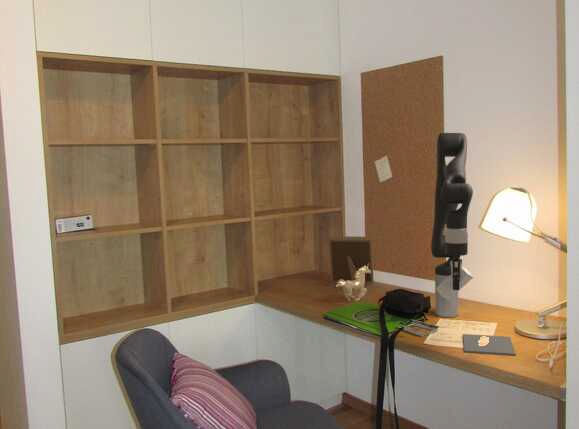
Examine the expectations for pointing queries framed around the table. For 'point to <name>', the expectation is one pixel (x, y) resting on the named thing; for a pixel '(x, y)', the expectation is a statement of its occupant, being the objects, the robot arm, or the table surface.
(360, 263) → the photo frame
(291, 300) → the table surface
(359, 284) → the unicorn
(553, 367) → the table surface
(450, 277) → the skincare box
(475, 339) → the charcoal mat
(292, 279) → the table surface
